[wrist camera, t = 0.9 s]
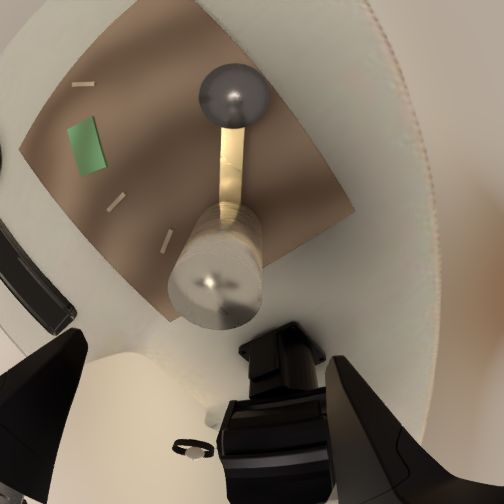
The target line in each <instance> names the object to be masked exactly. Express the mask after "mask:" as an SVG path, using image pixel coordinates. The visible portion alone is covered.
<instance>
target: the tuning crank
mask: <svg viewBox="0 0 504 504" xmlns="http://www.w3.org/2000/svg"><path fill="white" fill-rule="evenodd" d="M269 99H270V91H269V87H268V84H267V82H266V80H265V78H264V77H263V76H262V74H261V73H260V72H258V71H257V70H256V69H254V68H252V67H250V66H248V65H245V64H240V63H230V64H225V65H222V66H220V67H217V68H216V69H214V70H213V71H211V72H210V73H209V74H208V75H207V76H206V77H205V79H204V80H203V82H202V84H201V86H200V90H199V104H200V107H201V110H202V112H203V113H204V115H205V116H206V117H207V118H208V119H209V120H210V121H211V122H212V123H214V124H215V125H217V126H220V127H222V132H221V158H220V196H219V203H217V204H214V205H212V206H210V207H209V208H207V209H206V210H205V211H204V212H203V213H202V214H201V216H200V218H199V220H198V221H197V223H196V225H195V227H194V229H193V231H192V233H191V235H190V237H189V239H188V241H187V243H186V245H185V247H184V249H183V251H182V253H181V255H180V257H179V259H178V261H177V263H176V265H175V267H174V269H173V271H172V273H171V275H170V277H169V281H168V294H169V298H170V300H171V302H172V304H173V306H174V307H175V309H176V310H177V311H178V312H179V313H180V314H181V315H182V316H183V317H184V318H185V319H187V320H188V321H190V322H192V323H193V324H196V325H198V326H201V327H204V328H208V329H214V330H227V329H233V328H236V327H239V326H242V325H244V324H246V323H247V322H249V321H250V320H251V319H252V318H253V317H254V316H255V315H256V314H257V312H258V311H259V309H260V306H261V302H262V226H261V223H260V221H259V219H258V217H257V216H256V215H255V214H254V212H252V211H251V210H250V209H249V208H247V207H246V206H244V205H241V191H242V172H243V153H244V136H245V127H247V126H250V125H252V124H253V123H255V122H256V121H258V120H259V119H260V118H261V117H262V115H263V114H264V113H265V111H266V109H267V107H268V104H269Z"/></svg>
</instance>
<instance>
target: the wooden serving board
mask: <svg viewBox="0 0 504 504" xmlns="http://www.w3.org/2000/svg"><path fill="white" fill-rule="evenodd" d="M230 63H240V64H245V65H248V66H250V67H252V68H254V69H256V70H257V71H258V72H260V71H259V69H258V68H257V67H256V66H255V65H254V63H253V62H252V61H251V60H250V59H249V58H248V56H247V55H246V54H245V53H244V52H243V51H242V50H241V48H240V47H239V46H238V45H237V44H236V43H235V42H234V41H233V40H232V39H231V37H230V36H229V35H228V34H227V33H226V32H225V31H224V30H223V29H222V28H221V27H220V26H219V25H218V24H217V23H216V22H215V21H214V20H213V19H212V18H211V17H210V16H209V15H208V14H207V13H206V12H205V11H204V10H203V9H202V8H201V7H200V6H199V5H198V4H197V3H196V2H195V1H194V0H138V1H137V2H135V3H134V4H133V5H132V6H131V7H130V8H128V9H127V10H126V11H125V12H124V13H123V14H122V15H121V16H119V17H118V18H117V19H116V20H115V21H114V22H113V23H112V24H111V25H110V26H109V27H108V28H107V29H106V30H105V31H104V32H103V33H102V34H101V35H100V36H99V37H98V38H97V39H96V40H95V41H94V42H93V43H92V45H91V46H90V47H89V48H88V49H87V50H86V51H85V52H84V54H83V55H82V56H81V57H80V58H79V59H78V61H77V62H76V63H75V64H74V65H73V67H72V68H71V69H70V70H69V72H68V73H67V74H66V76H65V77H64V78H63V79H62V81H61V82H60V83H59V85H58V86H57V88H56V89H55V90H54V92H53V93H52V95H51V96H50V98H49V99H48V101H47V102H46V104H45V105H44V107H43V108H42V110H41V111H40V113H39V114H38V116H37V118H36V119H35V121H34V123H33V124H32V126H31V128H30V130H29V131H28V133H27V135H26V137H25V139H24V140H23V142H22V144H21V146H20V148H19V151H20V152H21V154H22V155H23V157H24V158H25V160H26V161H27V163H28V164H29V166H30V167H31V169H32V170H33V171H34V173H35V174H36V176H37V177H38V178H39V180H40V181H41V183H42V184H43V185H44V187H45V188H46V189H47V191H48V192H49V193H50V195H51V196H52V197H53V198H54V200H55V201H56V202H57V204H58V205H59V206H60V207H61V209H62V210H63V211H64V212H65V213H66V215H67V216H68V217H69V218H70V220H71V221H72V222H73V223H74V224H75V226H76V227H77V228H78V229H79V230H80V231H81V233H82V234H83V235H84V236H85V237H86V238H87V239H88V241H89V242H90V243H91V244H92V245H93V246H94V247H95V248H96V249H97V251H98V252H99V253H100V254H101V255H102V256H103V257H104V258H105V259H106V260H107V261H108V262H109V263H110V265H111V266H112V267H113V268H114V269H115V270H116V271H117V272H118V273H119V274H120V275H121V276H122V277H123V278H124V279H125V280H126V281H127V282H128V283H129V284H130V285H131V286H132V287H133V288H134V289H135V290H136V291H137V292H138V293H139V294H140V295H141V296H142V297H143V298H144V299H145V300H147V301H148V302H149V303H150V304H151V305H152V306H153V307H154V308H155V309H156V310H157V311H158V312H159V313H161V314H162V315H163V316H164V317H165V318H166V319H167V320H168V321H169V322H171V321H173V320H175V319H176V318H178V317H180V316H182V315H181V314H180V313H179V312H178V311H177V310H176V309H175V307H174V306H173V304H172V302H171V300H170V298H169V294H168V281H169V277H170V275H171V273H172V271H173V269H174V267H175V265H176V263H177V261H178V259H179V257H180V255H181V253H182V251H183V249H184V247H185V245H186V243H187V241H188V239H189V237H190V235H191V233H192V231H193V229H194V227H195V225H196V223H197V221H198V220H199V218H200V216H201V214H202V213H203V212H204V211H205V210H206V209H207V208H209V207H210V206H212V205H214V204H217V203H219V196H220V158H221V132H222V127H220V126H217V125H215V124H214V123H212V122H211V121H210V120H209V119H208V118H207V117H206V116H205V115H204V113H203V112H202V110H201V107H200V104H199V90H200V86H201V84H202V82H203V80H204V79H205V77H206V76H207V75H208V74H209V73H210V72H211V71H213V70H214V69H216V68H217V67H220V66H222V65H225V64H230ZM260 73H261V72H260ZM261 74H262V73H261ZM262 76H263V77H264V75H263V74H262ZM264 78H265V77H264ZM265 80H266V82H267V84H268V87H269V91H270V99H269V104H268V107H267V109H266V111H265V113H264V114H263V115H262V117H261V118H260V119H259V120H258V121H256V122H255V123H253V124H252V125H250V126H247V127H245V136H244V153H243V172H242V191H241V205H244V206H246V207H247V208H249V209H250V210H251V211H252V212H254V214H255V215H256V216H257V217H258V219H259V221H260V223H261V226H262V268H263V267H265V266H267V265H268V264H270V263H272V262H273V261H275V260H277V259H278V258H280V257H282V256H283V255H285V254H287V253H288V252H290V251H292V250H293V249H295V248H296V247H298V246H300V245H301V244H303V243H305V242H306V241H308V240H310V239H311V238H313V237H314V236H316V235H318V234H319V233H321V232H323V231H324V230H326V229H327V228H329V227H331V226H332V225H334V224H336V223H337V222H339V221H340V220H342V219H344V218H345V217H347V216H348V215H350V214H352V213H353V212H355V209H354V208H353V206H352V204H351V202H350V201H349V199H348V197H347V195H346V194H345V192H344V190H343V189H342V187H341V185H340V184H339V182H338V180H337V179H336V177H335V175H334V174H333V172H332V171H331V169H330V167H329V166H328V164H327V163H326V161H325V160H324V158H323V156H322V155H321V153H320V152H319V150H318V149H317V147H316V146H315V144H314V143H313V141H312V140H311V138H310V137H309V135H308V134H307V133H306V131H305V130H304V128H303V127H302V125H301V124H300V123H299V121H298V120H297V118H296V117H295V116H294V114H293V113H292V112H291V110H290V109H289V107H288V106H287V105H286V103H285V102H284V101H283V99H282V98H281V97H280V96H279V94H278V93H277V92H276V90H275V89H274V88H273V87H272V85H271V84H270V83H269V82H268V80H267V79H266V78H265Z"/></svg>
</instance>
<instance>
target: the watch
mask: <svg viewBox="0 0 504 504" xmlns="http://www.w3.org/2000/svg"><path fill="white" fill-rule="evenodd" d="M178 445H184V446H192V447H191V448H189V449H184V448H181V447H178ZM201 448H203V449H206V450H209V451H203V450H202V449H201ZM172 450H173V451H174V452H176V453H178V454H181V455H184V456H187V457H188V458H189V459H191V460H192V461H194V460H199V459H201V458H202V457H203V458H204V457H205V458H208V457H212V456H213V455H214V447H213V446H212V445H211V444H209V443H207V442H203V441H199V440H194V439H178V440H176V441H175V442H174V445H173V447H172Z"/></svg>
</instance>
